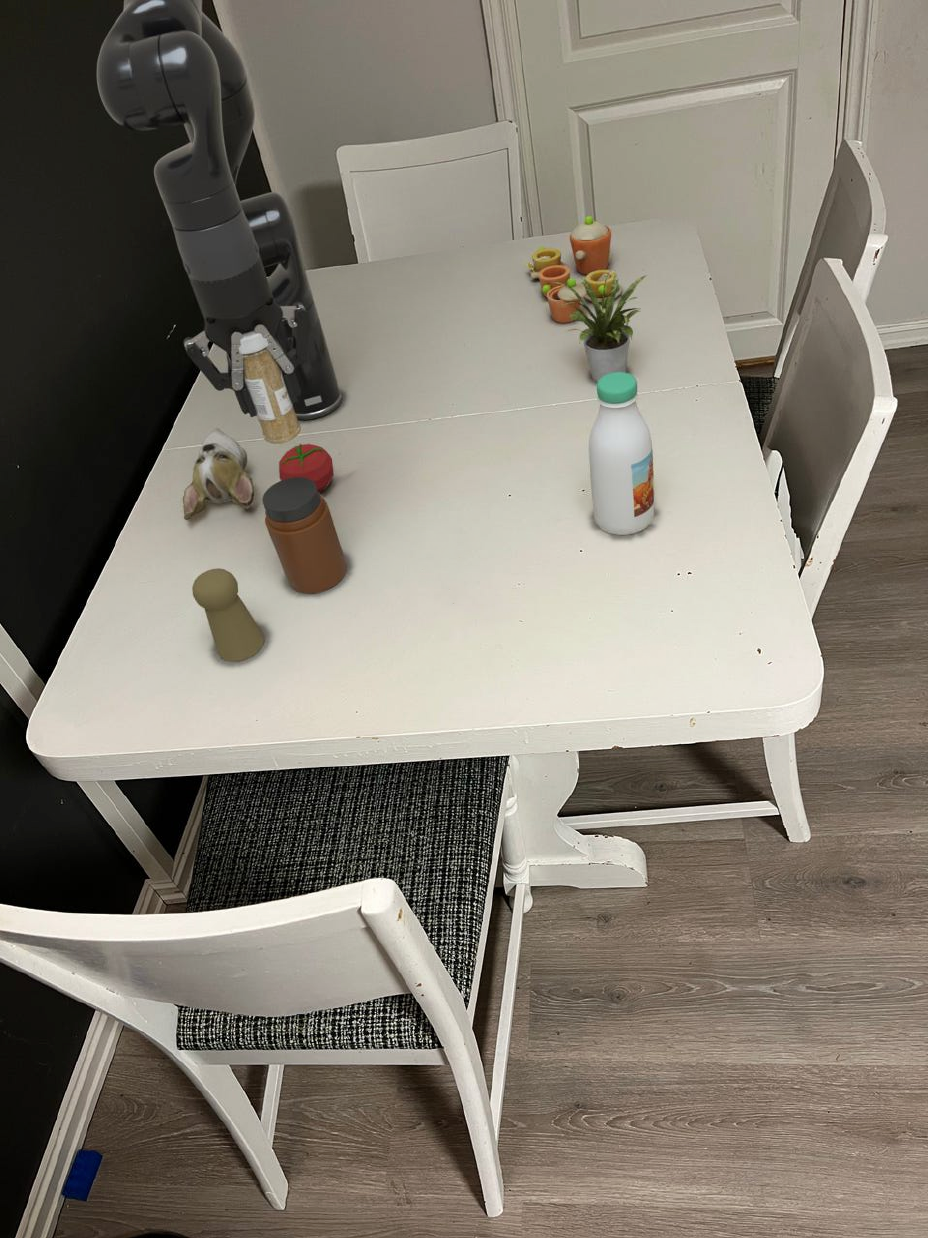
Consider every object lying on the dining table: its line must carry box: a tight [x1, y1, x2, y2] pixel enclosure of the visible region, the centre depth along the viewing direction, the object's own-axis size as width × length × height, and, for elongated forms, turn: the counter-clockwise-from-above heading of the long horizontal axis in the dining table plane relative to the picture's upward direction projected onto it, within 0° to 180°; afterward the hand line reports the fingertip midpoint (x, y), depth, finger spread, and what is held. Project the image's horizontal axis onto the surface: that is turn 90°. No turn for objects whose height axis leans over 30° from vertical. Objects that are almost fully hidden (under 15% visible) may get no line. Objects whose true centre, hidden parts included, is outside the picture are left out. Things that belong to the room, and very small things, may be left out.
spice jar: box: [236, 331, 302, 445], centre depth 105 cm, size 5×5×13 cm
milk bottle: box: [588, 372, 655, 536], centre depth 115 cm, size 8×8×20 cm
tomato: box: [278, 443, 335, 494], centre depth 136 cm, size 8×8×8 cm
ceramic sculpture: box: [182, 426, 255, 521], centre depth 138 cm, size 11×9×15 cm
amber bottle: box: [261, 477, 348, 595], centre depth 120 cm, size 8×8×13 cm
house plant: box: [553, 272, 648, 384], centre depth 142 cm, size 14×14×16 cm
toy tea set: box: [526, 215, 622, 324], centre depth 166 cm, size 26×16×10 cm, turn 5°
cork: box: [191, 567, 266, 663], centre depth 113 cm, size 6×6×11 cm
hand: (272, 405), depth 107 cm, fingers closed on spice jar, 4 cm apart
